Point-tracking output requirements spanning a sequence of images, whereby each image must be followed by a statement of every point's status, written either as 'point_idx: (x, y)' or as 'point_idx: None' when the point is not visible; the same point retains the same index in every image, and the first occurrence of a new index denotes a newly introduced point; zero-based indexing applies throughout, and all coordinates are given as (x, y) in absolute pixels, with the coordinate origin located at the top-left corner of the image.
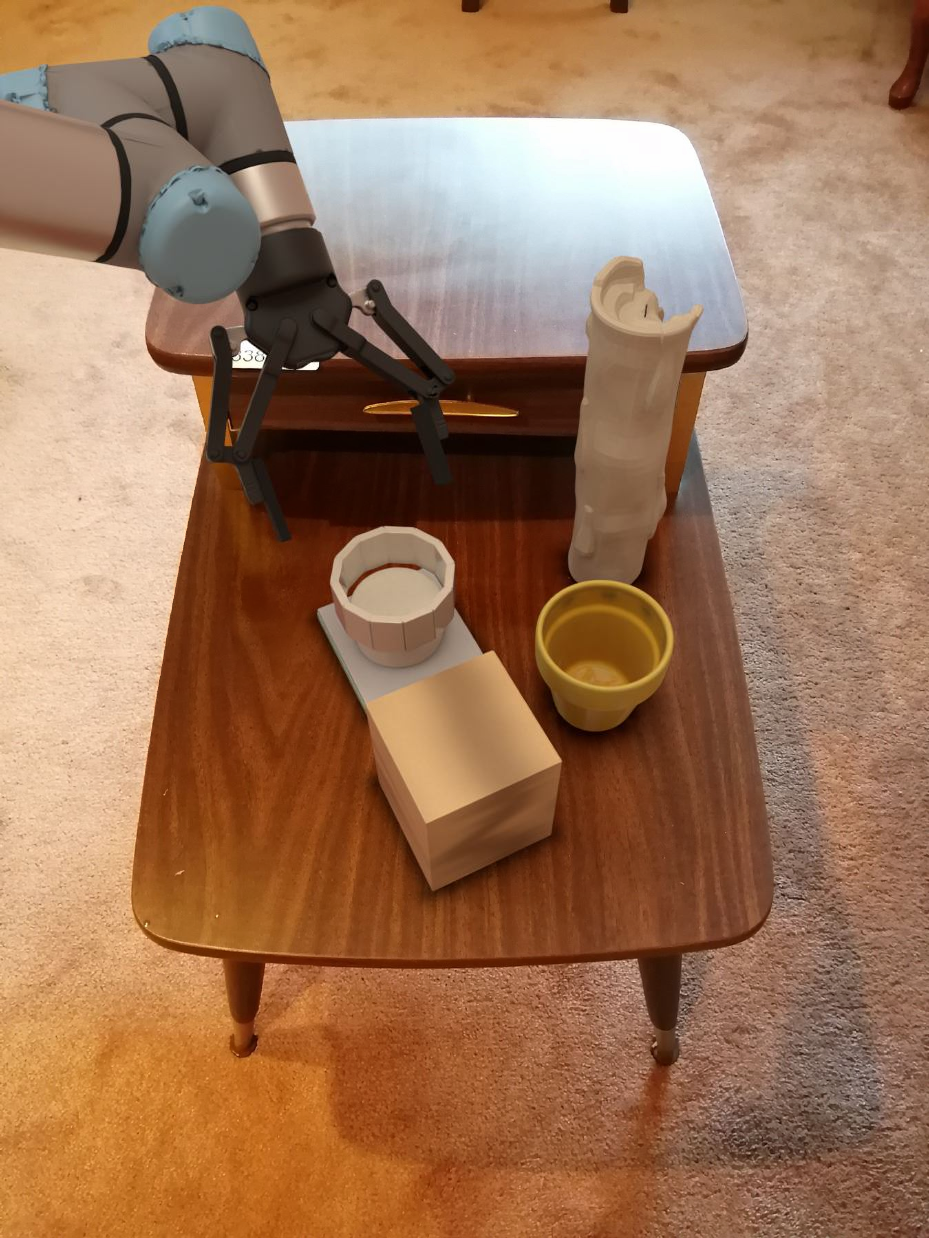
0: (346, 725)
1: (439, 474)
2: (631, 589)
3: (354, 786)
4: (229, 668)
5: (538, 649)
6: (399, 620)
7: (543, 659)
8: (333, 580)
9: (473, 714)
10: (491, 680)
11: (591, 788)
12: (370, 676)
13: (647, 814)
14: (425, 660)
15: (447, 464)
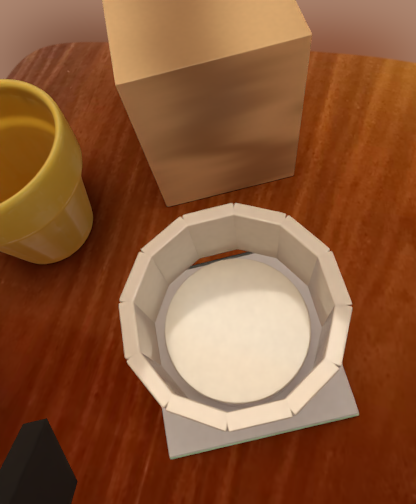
0: (323, 242)
1: (44, 456)
2: None
3: (320, 175)
4: None
5: (64, 142)
6: (238, 207)
7: (64, 128)
8: (345, 309)
9: (172, 13)
10: (134, 48)
11: (98, 143)
12: (289, 277)
13: (65, 117)
14: None
15: (4, 462)
